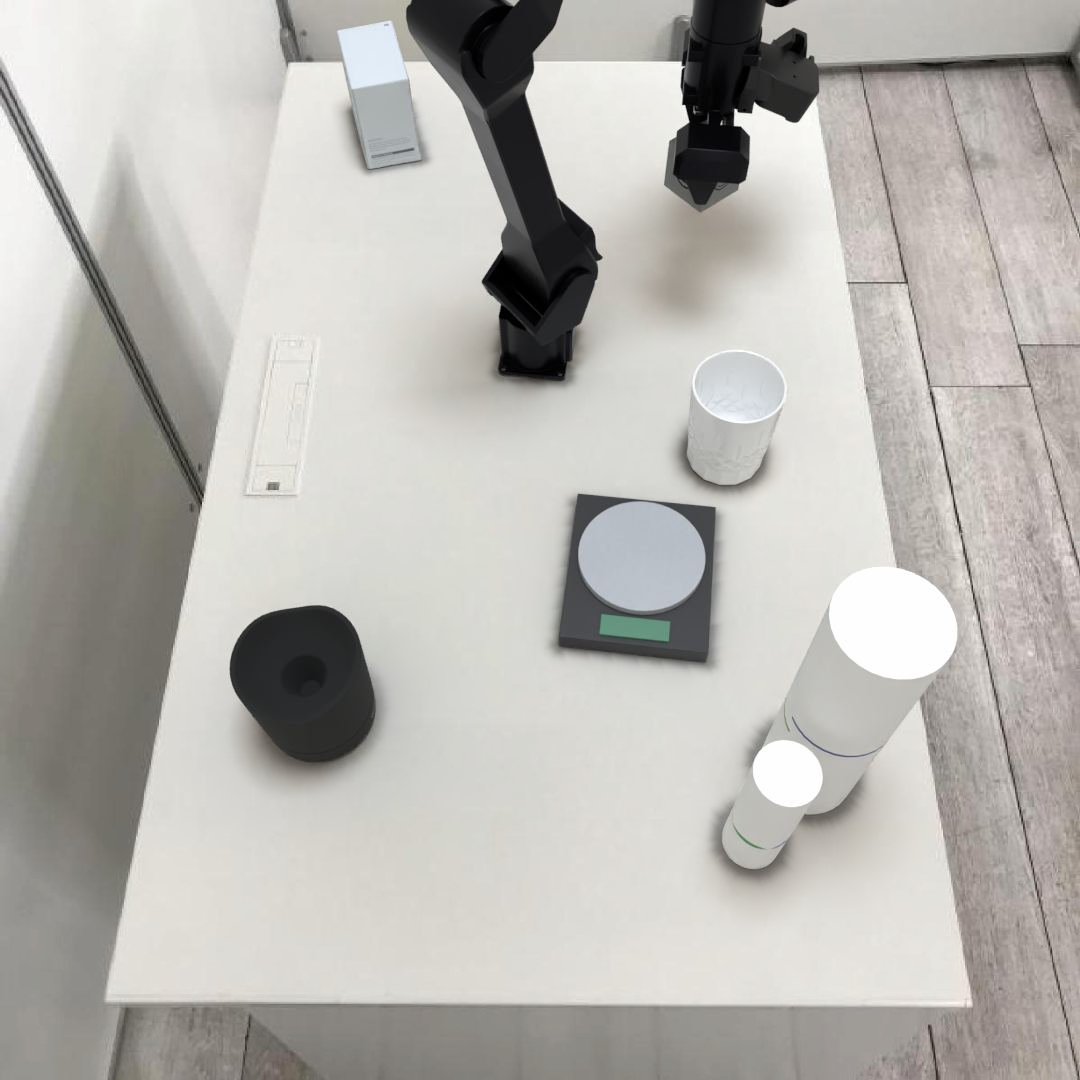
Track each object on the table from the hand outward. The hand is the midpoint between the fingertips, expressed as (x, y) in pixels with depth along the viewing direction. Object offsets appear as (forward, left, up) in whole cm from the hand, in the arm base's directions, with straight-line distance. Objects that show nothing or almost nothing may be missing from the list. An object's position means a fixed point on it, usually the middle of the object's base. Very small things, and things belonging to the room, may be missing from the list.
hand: (701, 179), depth 101 cm
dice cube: (0, 0, -1) cm, 1 cm away
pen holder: (-26, -53, -11) cm, 60 cm away
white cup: (+4, -24, -11) cm, 27 cm away
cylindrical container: (+12, -53, -11) cm, 55 cm away
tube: (+8, -59, -11) cm, 60 cm away
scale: (-2, -38, -11) cm, 39 cm away
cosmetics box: (-35, +16, -11) cm, 40 cm away
